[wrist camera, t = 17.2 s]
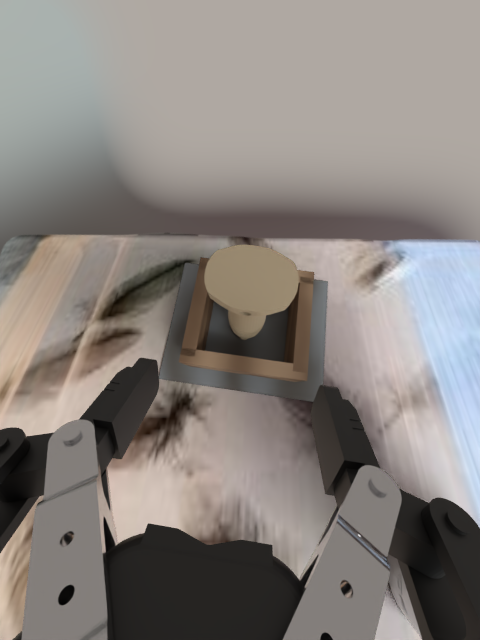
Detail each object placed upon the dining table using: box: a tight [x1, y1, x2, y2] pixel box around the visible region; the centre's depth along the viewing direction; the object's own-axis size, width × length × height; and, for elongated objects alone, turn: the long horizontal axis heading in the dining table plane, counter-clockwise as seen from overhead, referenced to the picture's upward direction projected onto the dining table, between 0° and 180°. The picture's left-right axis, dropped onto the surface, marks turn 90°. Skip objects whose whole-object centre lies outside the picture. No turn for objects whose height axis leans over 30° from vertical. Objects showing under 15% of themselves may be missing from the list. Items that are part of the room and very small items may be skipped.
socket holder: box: [159, 258, 328, 402], centre depth 28 cm, size 20×16×6 cm
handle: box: [204, 245, 299, 340], centre depth 23 cm, size 5×6×15 cm
